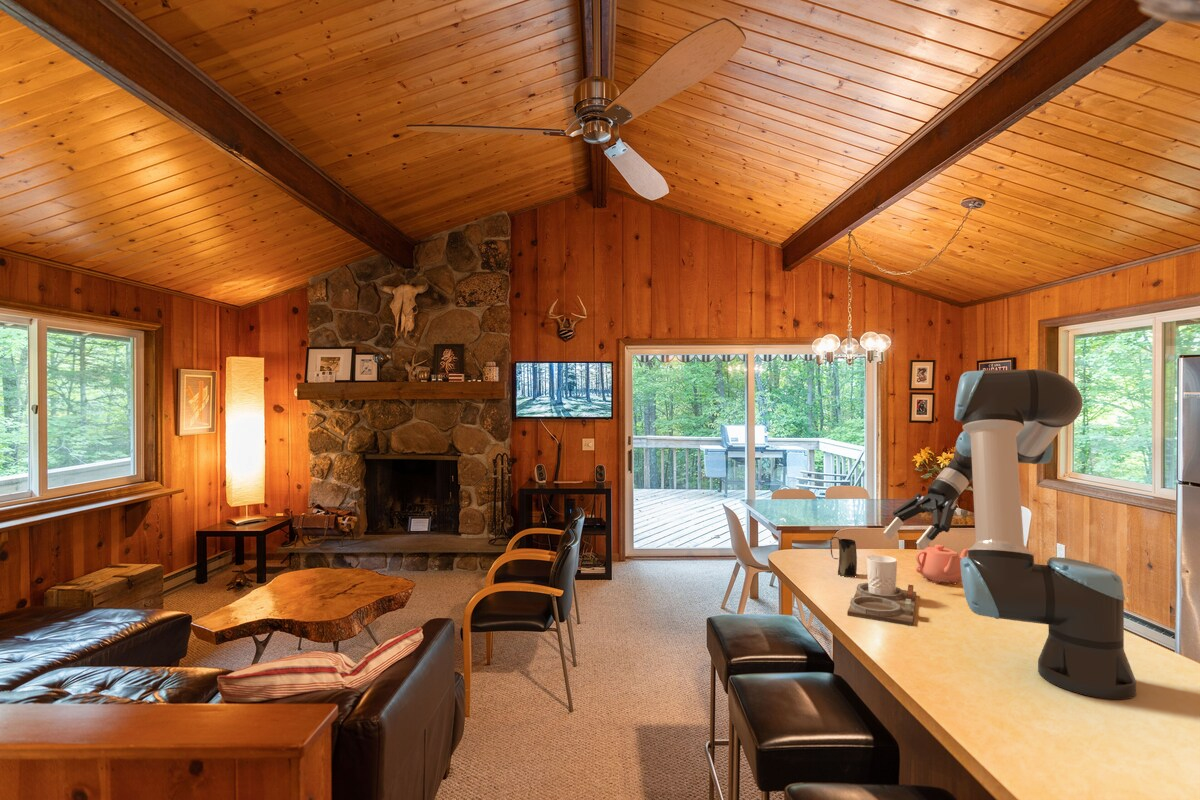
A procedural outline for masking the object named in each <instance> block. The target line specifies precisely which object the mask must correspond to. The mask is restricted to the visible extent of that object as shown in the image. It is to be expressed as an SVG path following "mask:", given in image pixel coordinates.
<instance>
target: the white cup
mask: <svg viewBox="0 0 1200 800" xmlns="http://www.w3.org/2000/svg"><path fill="white" fill-rule="evenodd" d="M865 560H866V576H867V583H868V589H869V592H870V593H875V594H882V595H894V594H895V587H897V586H896V585H897V583H896V582H897V568H898V566H897V565H898V559H897V558H895V557H892V556H889V555H888V556H887V555H882V554H879V555H878V554H870V555H866V557H865Z"/></svg>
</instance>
